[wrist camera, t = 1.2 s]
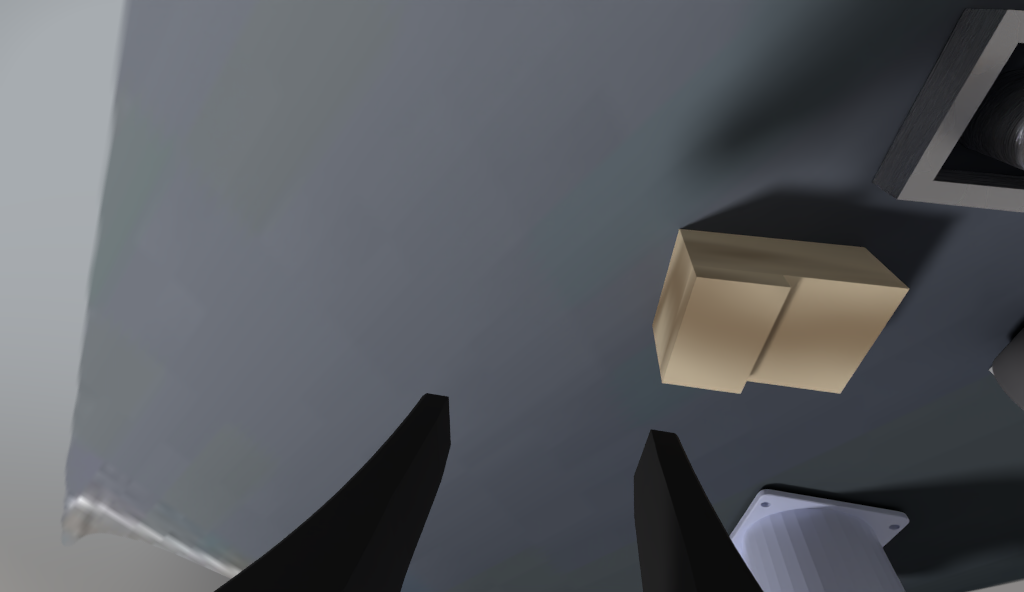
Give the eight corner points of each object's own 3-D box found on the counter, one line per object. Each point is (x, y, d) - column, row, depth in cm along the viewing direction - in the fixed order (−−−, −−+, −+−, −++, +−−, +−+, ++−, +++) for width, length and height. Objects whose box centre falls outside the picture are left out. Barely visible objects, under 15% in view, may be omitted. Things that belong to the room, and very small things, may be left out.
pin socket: (1032, 198, 15) (1074, 217, 14) (871, 182, 16) (896, 199, 14) (1170, 21, 12) (1239, 23, 11) (965, 8, 13) (1007, 9, 11)
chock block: (808, 342, 20) (849, 408, 17) (652, 322, 21) (662, 382, 18) (862, 244, 17) (924, 302, 14) (678, 226, 18) (696, 276, 15)
